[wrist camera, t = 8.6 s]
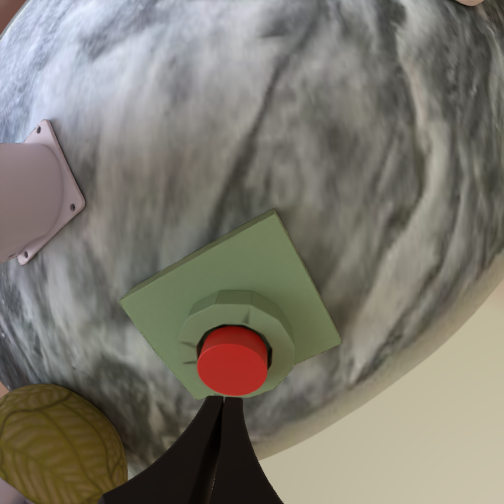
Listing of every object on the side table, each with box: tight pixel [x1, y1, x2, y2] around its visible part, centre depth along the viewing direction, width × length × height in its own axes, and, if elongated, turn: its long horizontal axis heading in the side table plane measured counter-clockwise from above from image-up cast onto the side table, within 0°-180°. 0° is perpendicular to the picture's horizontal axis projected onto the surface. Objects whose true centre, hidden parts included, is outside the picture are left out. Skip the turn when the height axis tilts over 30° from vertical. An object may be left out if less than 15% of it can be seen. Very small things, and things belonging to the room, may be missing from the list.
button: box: [197, 326, 267, 396], centre depth 14 cm, size 4×4×2 cm
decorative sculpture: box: [0, 384, 128, 504], centre depth 14 cm, size 16×16×20 cm
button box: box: [119, 209, 342, 400], centre depth 17 cm, size 11×9×4 cm
